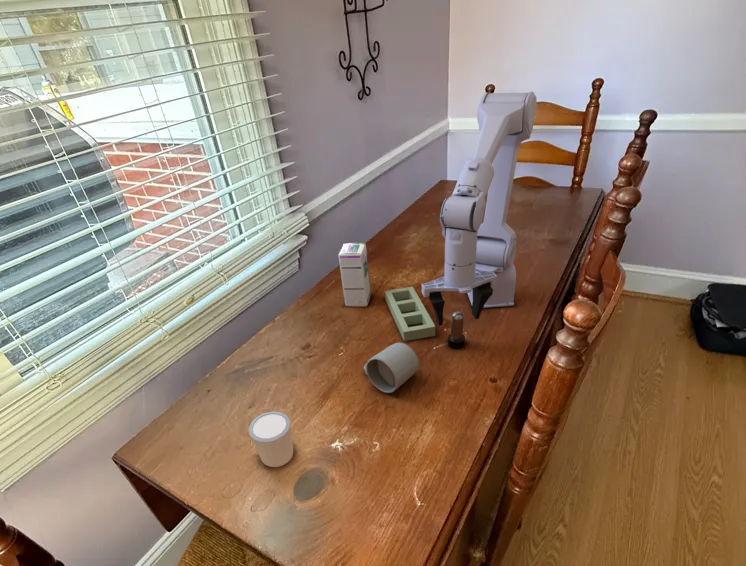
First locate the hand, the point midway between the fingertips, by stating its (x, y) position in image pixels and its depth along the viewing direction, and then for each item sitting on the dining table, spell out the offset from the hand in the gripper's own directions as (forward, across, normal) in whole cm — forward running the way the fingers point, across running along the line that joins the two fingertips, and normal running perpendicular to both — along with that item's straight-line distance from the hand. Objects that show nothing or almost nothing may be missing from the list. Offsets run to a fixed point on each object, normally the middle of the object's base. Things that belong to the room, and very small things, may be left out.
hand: (457, 319), depth 97 cm
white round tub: (+6, -39, -22) cm, 45 cm away
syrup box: (+6, -17, +24) cm, 30 cm away
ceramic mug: (+6, -17, -7) cm, 19 cm away
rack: (+6, -7, +13) cm, 16 cm away
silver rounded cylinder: (+6, 0, 0) cm, 6 cm away
